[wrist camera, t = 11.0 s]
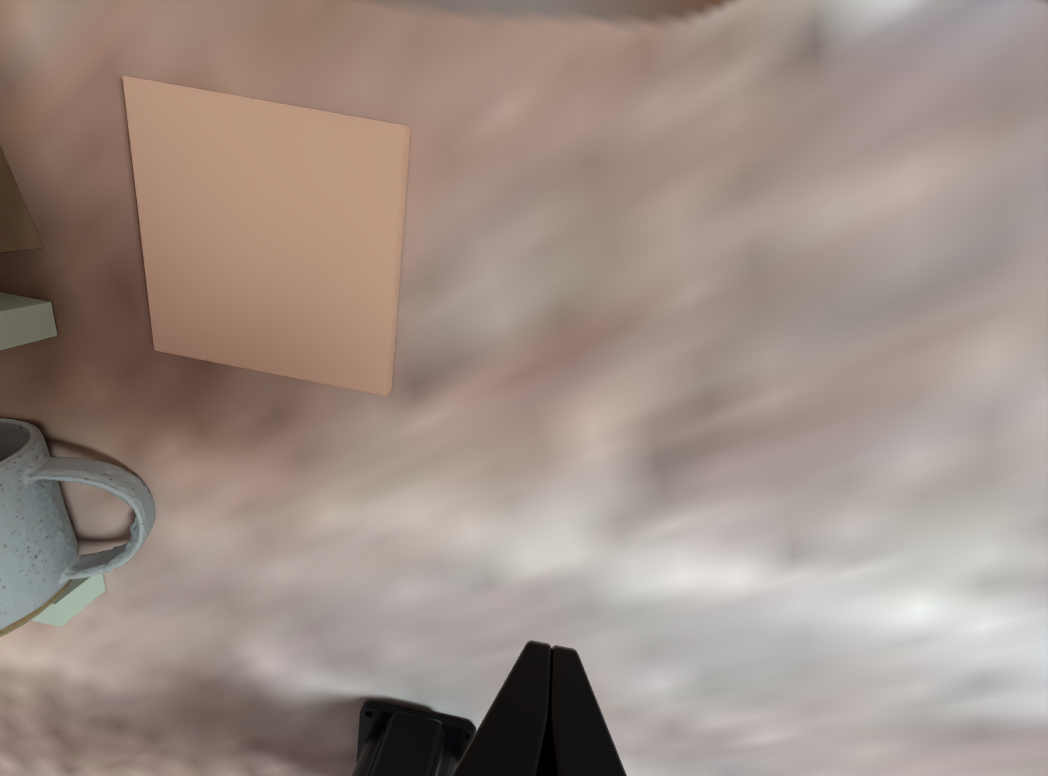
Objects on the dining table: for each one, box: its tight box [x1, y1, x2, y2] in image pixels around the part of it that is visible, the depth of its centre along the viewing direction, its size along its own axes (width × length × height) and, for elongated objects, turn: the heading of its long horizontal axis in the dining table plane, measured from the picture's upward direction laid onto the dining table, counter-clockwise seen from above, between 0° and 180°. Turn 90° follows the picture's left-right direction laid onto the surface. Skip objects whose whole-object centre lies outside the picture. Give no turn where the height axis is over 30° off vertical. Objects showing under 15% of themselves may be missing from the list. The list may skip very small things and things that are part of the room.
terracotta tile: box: [123, 76, 411, 396], centre depth 19 cm, size 10×10×1 cm
